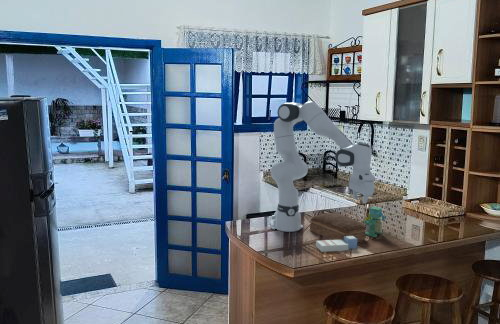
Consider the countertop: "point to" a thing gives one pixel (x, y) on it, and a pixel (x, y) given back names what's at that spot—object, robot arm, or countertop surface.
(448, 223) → the countertop surface
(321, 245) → the white flat box
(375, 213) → the toy
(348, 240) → the light blue cube
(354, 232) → the bread
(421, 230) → the countertop surface
